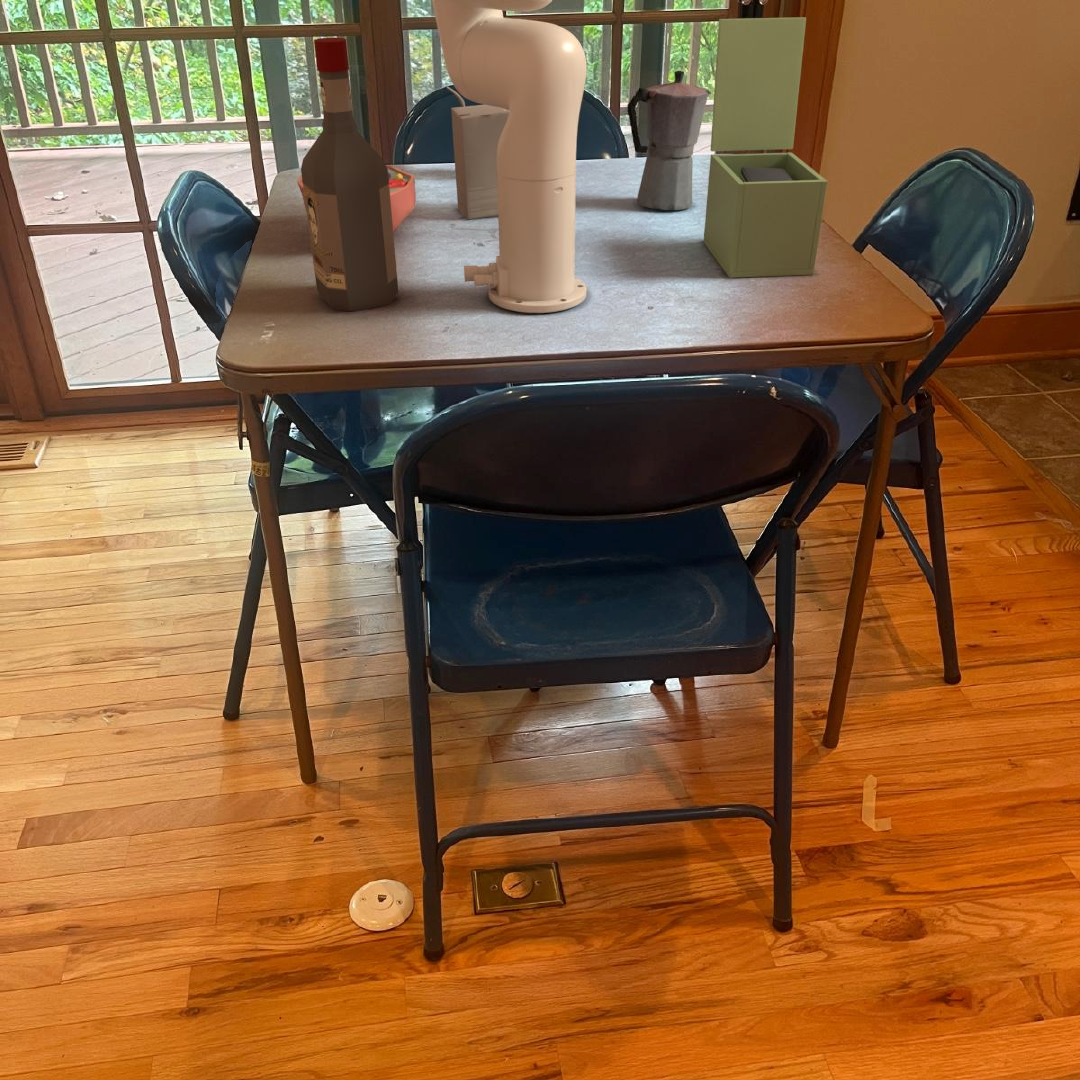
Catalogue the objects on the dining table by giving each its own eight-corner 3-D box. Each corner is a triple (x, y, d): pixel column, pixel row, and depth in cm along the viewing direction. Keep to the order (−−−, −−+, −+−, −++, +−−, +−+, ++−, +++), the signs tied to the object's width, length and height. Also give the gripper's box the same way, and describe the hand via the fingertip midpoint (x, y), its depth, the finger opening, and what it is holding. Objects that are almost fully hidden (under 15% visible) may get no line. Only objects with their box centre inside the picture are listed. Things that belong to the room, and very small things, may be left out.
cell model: (305, 261, 141) (294, 178, 134) (304, 220, 157) (293, 145, 151) (425, 253, 144) (420, 171, 137) (411, 213, 160) (406, 139, 154)
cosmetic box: (504, 204, 164) (502, 100, 155) (517, 216, 158) (515, 109, 149) (454, 209, 162) (449, 104, 153) (465, 221, 156) (460, 113, 147)
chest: (813, 274, 135) (827, 181, 128) (729, 278, 134) (738, 183, 127) (780, 239, 148) (791, 152, 141) (703, 241, 147) (710, 154, 140)
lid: (806, 17, 132) (804, 17, 133) (720, 19, 132) (718, 19, 132) (793, 149, 140) (791, 148, 141) (711, 151, 140) (710, 150, 140)
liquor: (380, 281, 134) (355, 32, 117) (404, 303, 127) (382, 42, 111) (313, 292, 131) (279, 37, 114) (334, 315, 124) (301, 48, 107)
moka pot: (718, 204, 163) (731, 70, 152) (645, 220, 156) (652, 81, 145) (680, 191, 170) (689, 62, 158) (608, 206, 163) (612, 72, 151)
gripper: (713, -122, 125) (701, 41, 135) (830, -123, 126) (809, 38, 137) (700, -122, 131) (689, 33, 142) (811, -124, 132) (793, 31, 143)
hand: (748, 35), depth 139 cm, fingers closed
